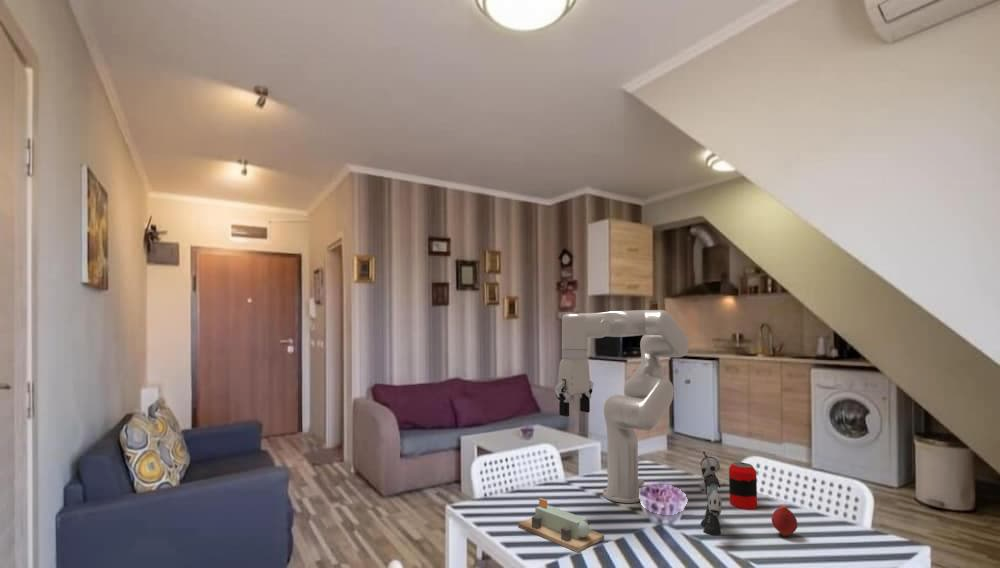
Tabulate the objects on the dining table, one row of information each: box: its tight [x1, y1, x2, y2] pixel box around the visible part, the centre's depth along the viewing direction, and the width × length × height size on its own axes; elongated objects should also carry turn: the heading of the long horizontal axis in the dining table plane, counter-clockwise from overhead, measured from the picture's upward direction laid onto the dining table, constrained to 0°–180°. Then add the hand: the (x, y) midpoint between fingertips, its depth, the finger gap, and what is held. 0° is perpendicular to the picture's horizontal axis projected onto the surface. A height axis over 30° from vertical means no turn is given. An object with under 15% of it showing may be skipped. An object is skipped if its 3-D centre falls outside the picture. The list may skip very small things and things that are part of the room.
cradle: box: [517, 515, 605, 553], centre depth 132 cm, size 11×20×4 cm, turn 44°
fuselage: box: [534, 497, 591, 539], centre depth 131 cm, size 4×16×6 cm, turn 44°
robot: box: [698, 451, 723, 536], centre depth 136 cm, size 20×5×20 cm, turn 166°
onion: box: [771, 503, 798, 537], centre depth 131 cm, size 6×6×8 cm
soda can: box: [728, 461, 758, 510], centre depth 153 cm, size 8×8×12 cm
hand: (574, 413), depth 148 cm, fingers open, 9 cm apart
